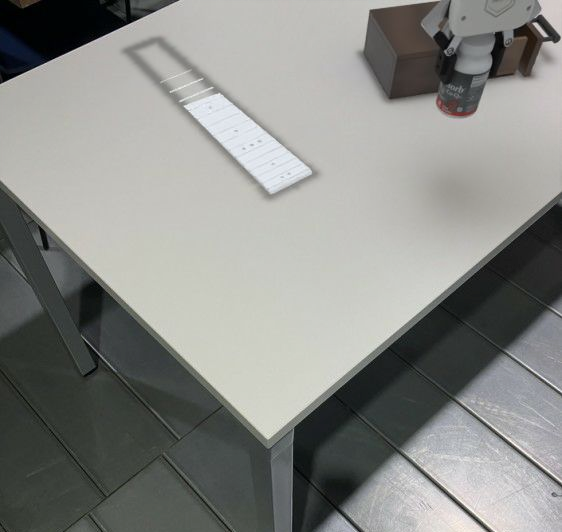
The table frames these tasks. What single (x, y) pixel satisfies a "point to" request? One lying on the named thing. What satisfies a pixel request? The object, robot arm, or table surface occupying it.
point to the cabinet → (402, 49)
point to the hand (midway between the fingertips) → (465, 73)
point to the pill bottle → (467, 77)
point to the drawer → (526, 47)
